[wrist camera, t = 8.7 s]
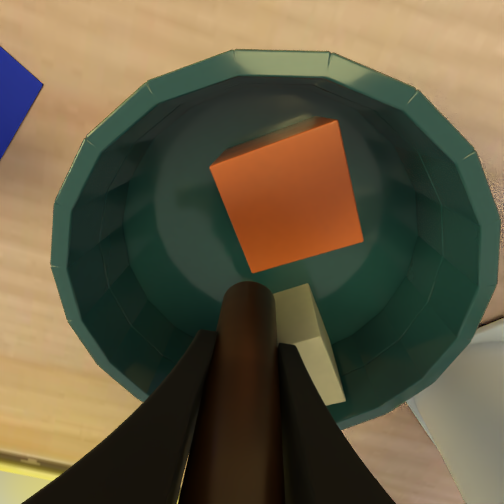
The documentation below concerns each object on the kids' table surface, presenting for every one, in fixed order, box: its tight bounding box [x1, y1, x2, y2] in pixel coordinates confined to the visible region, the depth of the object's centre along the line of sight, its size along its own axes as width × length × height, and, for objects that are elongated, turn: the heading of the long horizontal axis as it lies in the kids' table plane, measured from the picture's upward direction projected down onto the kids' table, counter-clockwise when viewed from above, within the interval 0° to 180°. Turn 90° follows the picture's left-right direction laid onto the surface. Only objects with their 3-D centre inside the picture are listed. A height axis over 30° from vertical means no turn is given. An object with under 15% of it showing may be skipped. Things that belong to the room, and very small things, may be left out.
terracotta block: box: [209, 116, 364, 273], centre depth 11 cm, size 4×4×4 cm
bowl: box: [50, 49, 501, 430], centre depth 13 cm, size 15×15×5 cm
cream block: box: [273, 283, 346, 406], centre depth 15 cm, size 4×4×4 cm
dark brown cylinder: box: [178, 281, 285, 504], centre depth 10 cm, size 2×2×9 cm
